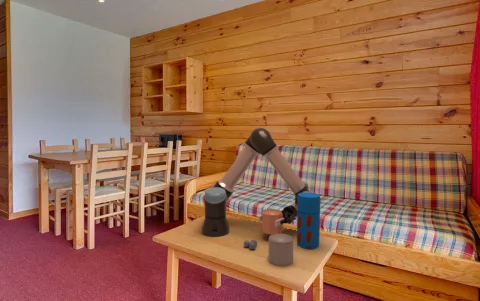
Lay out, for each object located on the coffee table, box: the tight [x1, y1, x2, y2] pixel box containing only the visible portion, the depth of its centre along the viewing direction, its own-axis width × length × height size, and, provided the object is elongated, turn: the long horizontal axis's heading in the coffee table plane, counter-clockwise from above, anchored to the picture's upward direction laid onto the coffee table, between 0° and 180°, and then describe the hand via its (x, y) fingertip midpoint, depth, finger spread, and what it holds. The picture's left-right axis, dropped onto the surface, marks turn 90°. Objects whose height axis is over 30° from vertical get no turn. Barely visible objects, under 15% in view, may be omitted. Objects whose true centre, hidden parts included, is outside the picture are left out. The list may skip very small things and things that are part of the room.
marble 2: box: [250, 239, 258, 246], centre depth 142 cm, size 3×3×3 cm
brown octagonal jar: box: [267, 233, 294, 267], centre depth 127 cm, size 10×10×10 cm
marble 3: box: [248, 241, 257, 250], centre depth 138 cm, size 3×3×3 cm
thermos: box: [296, 192, 321, 250], centre depth 143 cm, size 11×11×25 cm
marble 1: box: [243, 240, 251, 248], centre depth 141 cm, size 3×3×3 cm
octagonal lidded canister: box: [261, 208, 284, 235], centre depth 151 cm, size 10×10×10 cm
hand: (267, 221), depth 148 cm, fingers closed on octagonal lidded canister, 10 cm apart
